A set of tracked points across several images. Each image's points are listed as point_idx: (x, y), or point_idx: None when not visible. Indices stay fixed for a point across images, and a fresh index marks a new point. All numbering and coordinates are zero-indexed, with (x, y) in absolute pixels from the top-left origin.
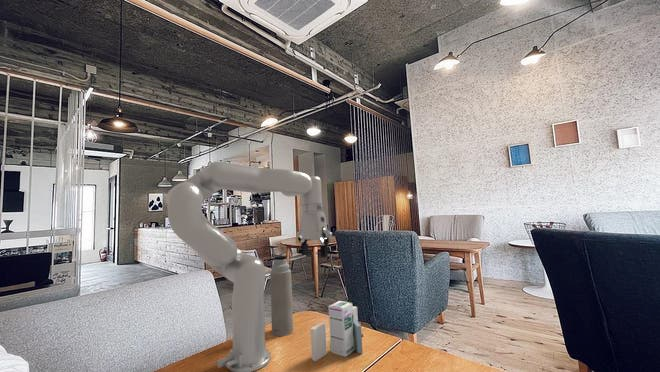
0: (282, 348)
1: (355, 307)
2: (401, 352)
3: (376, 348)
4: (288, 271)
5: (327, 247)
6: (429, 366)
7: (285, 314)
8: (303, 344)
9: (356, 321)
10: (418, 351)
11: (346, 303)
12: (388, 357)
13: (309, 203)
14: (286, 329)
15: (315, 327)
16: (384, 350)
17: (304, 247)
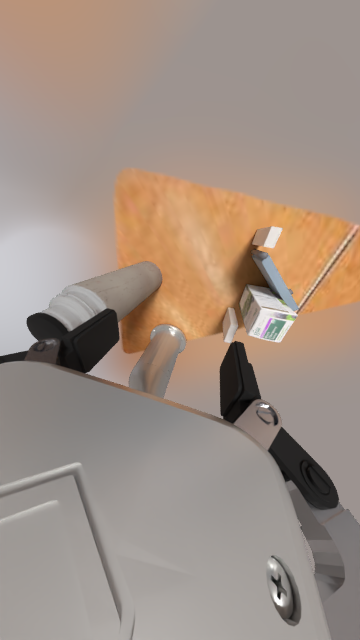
0: (179, 312)
1: (278, 234)
2: (348, 271)
3: (303, 273)
4: None
5: (258, 391)
6: None
7: (150, 293)
8: (195, 297)
9: (287, 294)
10: None
11: (284, 322)
12: (322, 291)
13: None
14: (158, 286)
15: (228, 337)
16: (317, 275)
17: (94, 354)
